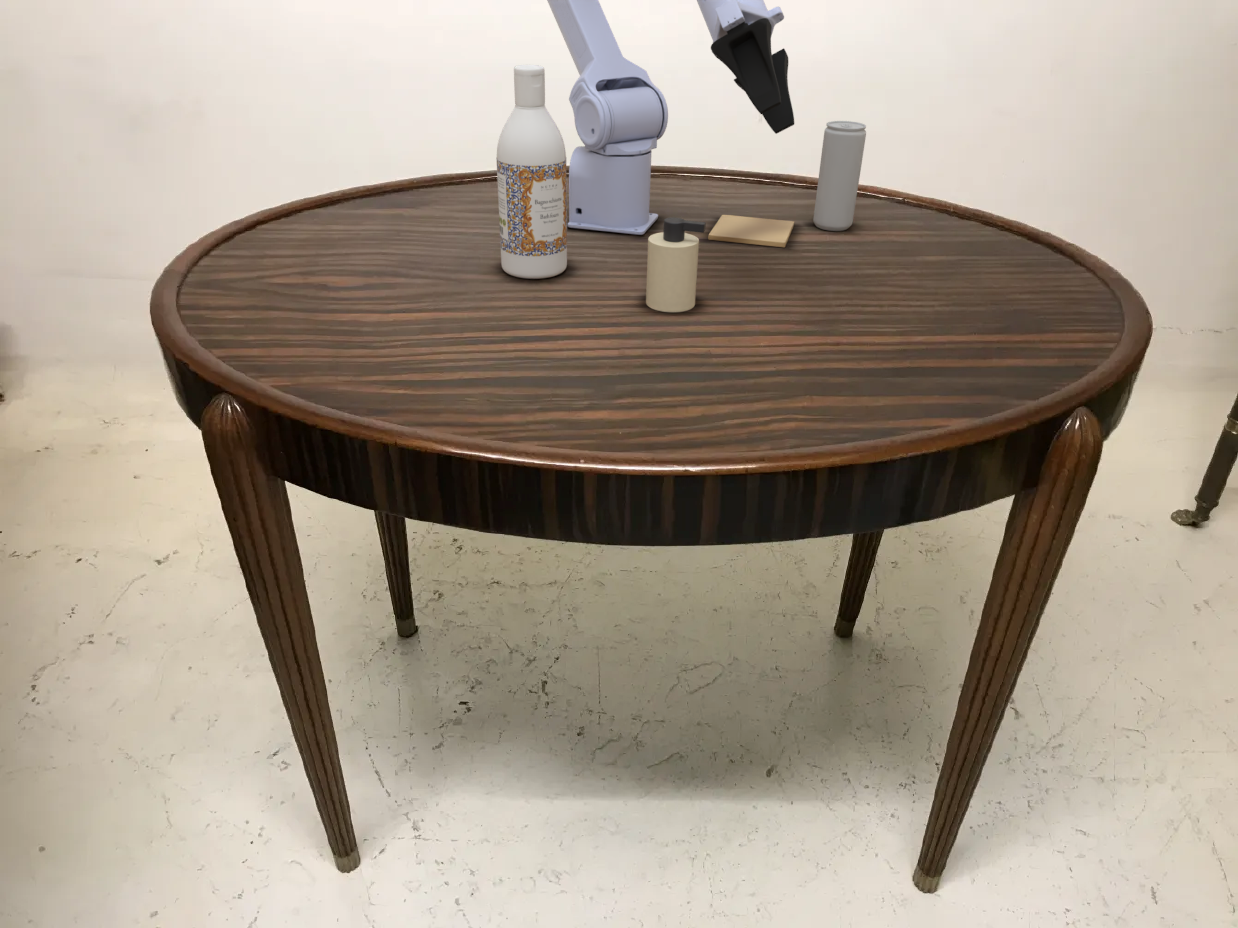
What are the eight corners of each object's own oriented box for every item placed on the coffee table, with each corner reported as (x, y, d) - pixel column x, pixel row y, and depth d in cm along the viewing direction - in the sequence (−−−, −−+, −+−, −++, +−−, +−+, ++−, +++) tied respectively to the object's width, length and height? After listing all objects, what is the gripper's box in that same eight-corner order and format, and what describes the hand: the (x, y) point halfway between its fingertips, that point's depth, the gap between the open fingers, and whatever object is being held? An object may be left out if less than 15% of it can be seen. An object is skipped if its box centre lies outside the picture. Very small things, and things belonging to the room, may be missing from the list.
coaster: (707, 239, 109) (708, 234, 109) (721, 219, 116) (722, 214, 116) (784, 247, 107) (785, 242, 107) (794, 226, 114) (794, 221, 114)
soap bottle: (640, 309, 90) (643, 224, 85) (652, 292, 94) (655, 211, 89) (694, 315, 88) (699, 230, 84) (704, 298, 92) (710, 216, 88)
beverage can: (849, 221, 117) (864, 121, 110) (854, 233, 112) (869, 129, 106) (810, 220, 117) (823, 120, 111) (813, 231, 113) (827, 128, 107)
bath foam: (521, 285, 95) (513, 74, 84) (490, 265, 100) (479, 64, 89) (579, 273, 98) (579, 69, 88) (546, 255, 103) (542, 60, 93)
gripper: (747, -68, 81) (805, 75, 81) (777, -5, 95) (827, 117, 94) (675, -24, 83) (731, 115, 83) (714, 31, 97) (762, 150, 97)
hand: (777, 119), depth 89 cm, fingers open, 7 cm apart
